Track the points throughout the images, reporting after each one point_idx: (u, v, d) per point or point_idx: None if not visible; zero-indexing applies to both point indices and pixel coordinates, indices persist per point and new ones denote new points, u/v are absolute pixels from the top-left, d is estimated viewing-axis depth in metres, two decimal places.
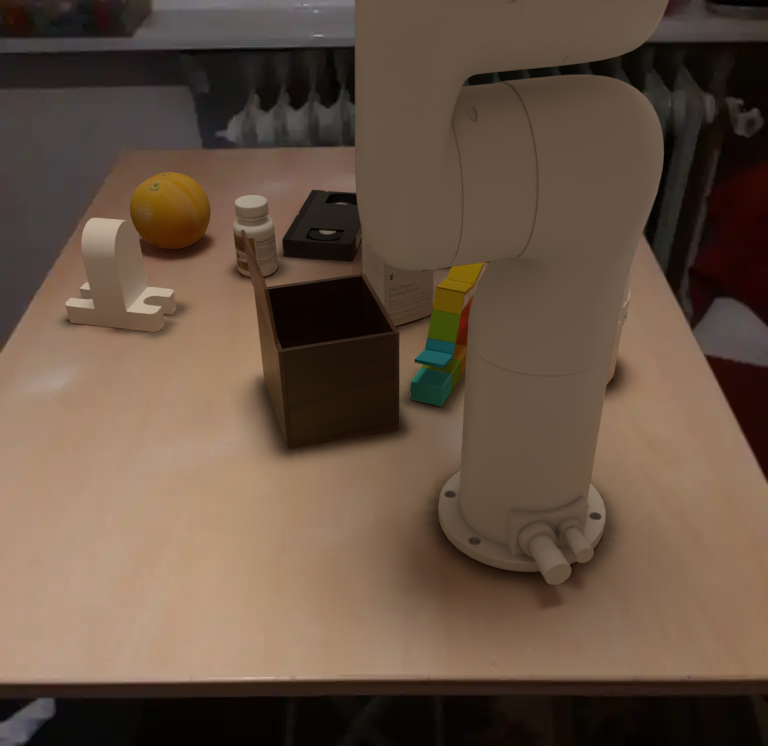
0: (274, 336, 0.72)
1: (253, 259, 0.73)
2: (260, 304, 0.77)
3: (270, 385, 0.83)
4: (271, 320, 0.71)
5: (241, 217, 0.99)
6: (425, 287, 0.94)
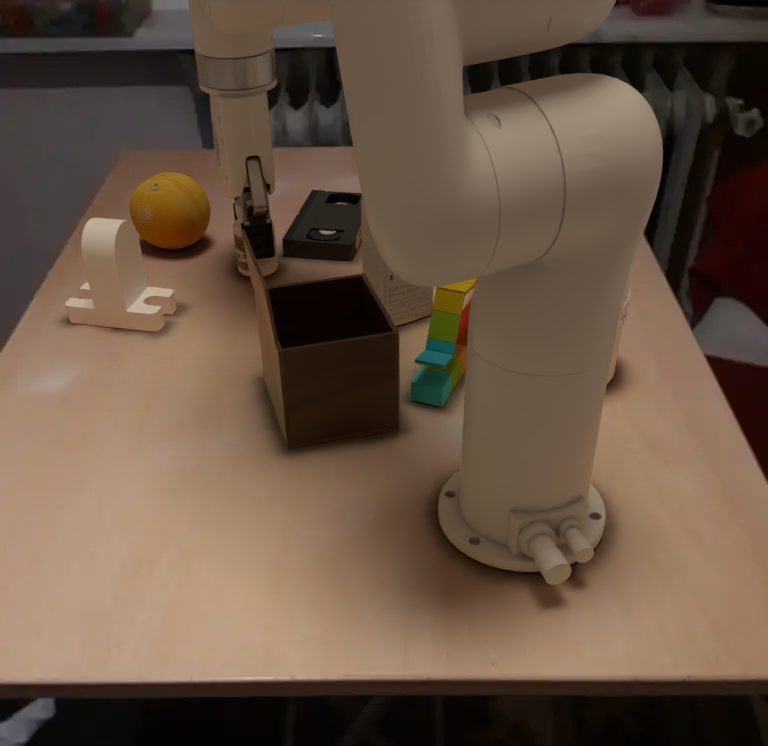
0: (274, 336, 0.72)
1: (253, 259, 0.73)
2: (260, 304, 0.77)
3: (270, 385, 0.83)
4: (271, 320, 0.71)
5: (241, 217, 0.99)
6: (425, 287, 0.94)
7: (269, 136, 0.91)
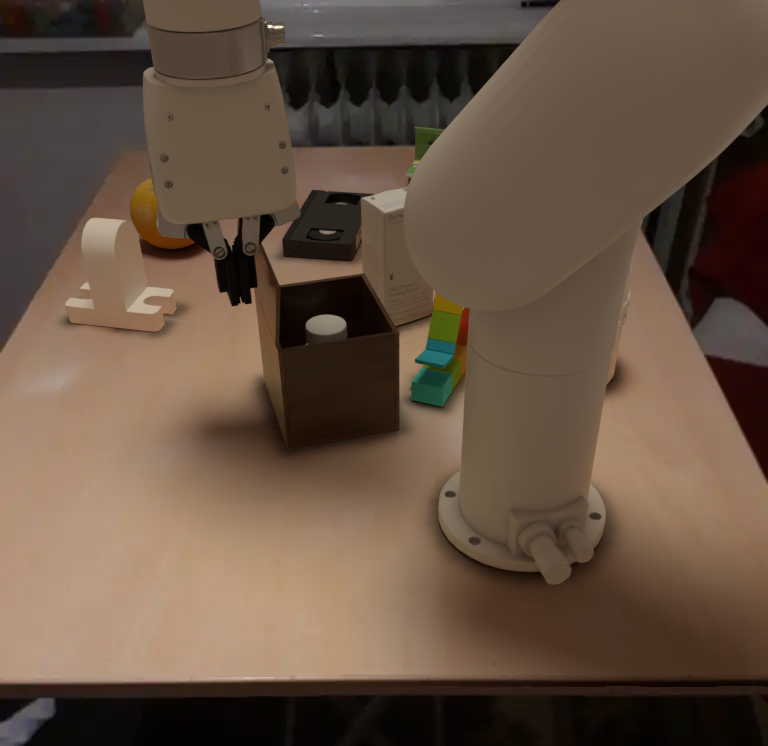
0: (276, 336, 0.72)
1: (265, 257, 0.73)
2: (261, 304, 0.77)
3: (270, 385, 0.83)
4: (277, 319, 0.71)
5: None
6: (425, 287, 0.94)
7: (155, 143, 0.64)
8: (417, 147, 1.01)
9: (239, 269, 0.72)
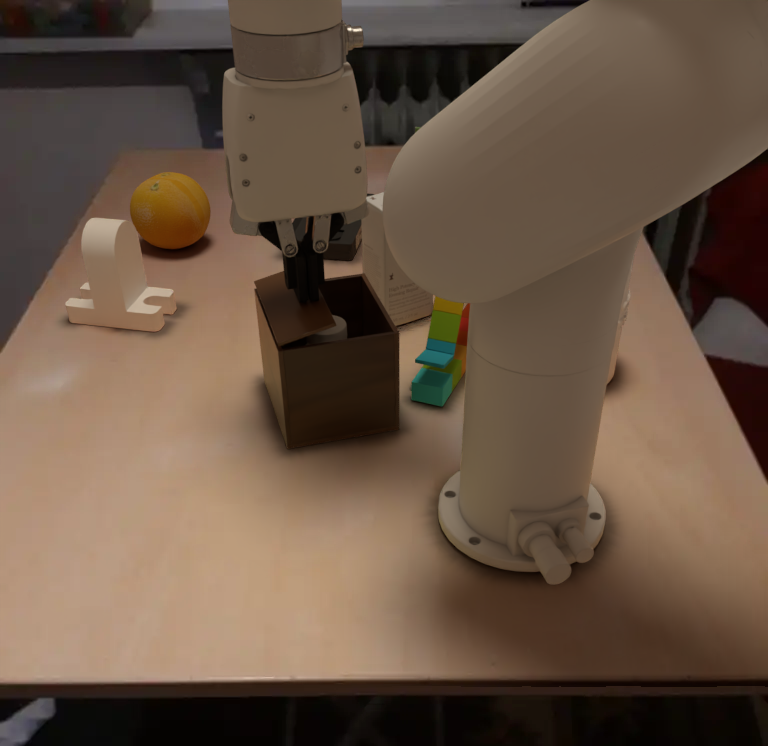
0: (286, 340, 0.73)
1: None
2: (266, 305, 0.77)
3: (270, 385, 0.83)
4: (303, 335, 0.73)
5: None
6: None
7: (235, 142, 0.66)
8: None
9: (308, 266, 0.74)
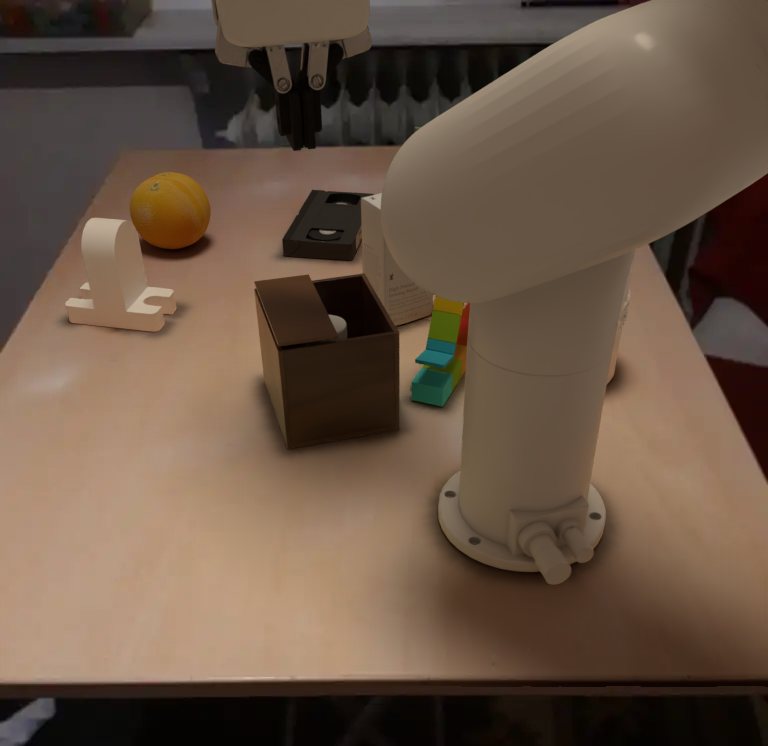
0: (287, 342, 0.73)
1: None
2: (267, 305, 0.77)
3: (270, 385, 0.83)
4: (304, 340, 0.73)
5: None
6: None
7: None
8: None
9: (304, 106, 0.66)
